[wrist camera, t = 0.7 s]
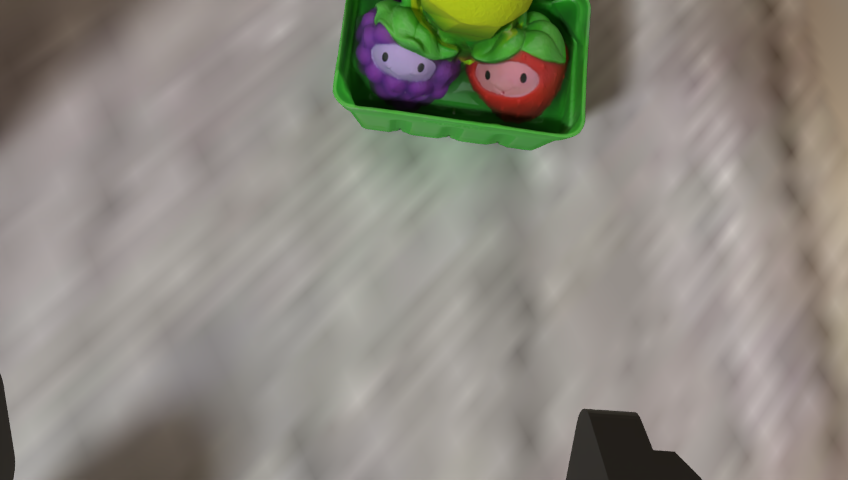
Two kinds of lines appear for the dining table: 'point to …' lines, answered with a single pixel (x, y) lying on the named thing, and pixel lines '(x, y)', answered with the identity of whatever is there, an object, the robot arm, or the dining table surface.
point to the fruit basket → (466, 68)
